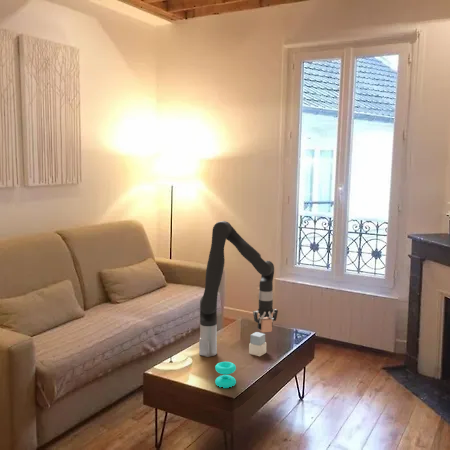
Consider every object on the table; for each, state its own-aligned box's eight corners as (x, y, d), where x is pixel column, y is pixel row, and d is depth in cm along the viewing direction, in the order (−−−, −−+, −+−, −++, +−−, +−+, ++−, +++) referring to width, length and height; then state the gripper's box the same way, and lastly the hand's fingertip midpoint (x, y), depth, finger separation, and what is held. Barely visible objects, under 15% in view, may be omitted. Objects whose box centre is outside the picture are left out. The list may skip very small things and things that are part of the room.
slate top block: (259, 345, 270) (259, 337, 270) (250, 343, 274) (250, 334, 273) (265, 342, 275) (265, 333, 275) (256, 340, 279) (256, 331, 278)
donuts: (219, 359, 241) (238, 362, 238) (219, 378, 242) (238, 382, 239) (211, 367, 232) (231, 370, 228) (211, 387, 233) (231, 390, 230)
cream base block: (259, 356, 271) (259, 346, 270) (249, 353, 275) (249, 343, 274) (266, 352, 276) (266, 342, 275) (255, 349, 280) (255, 339, 279)
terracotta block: (262, 332, 261) (262, 320, 260) (258, 329, 266) (258, 317, 265) (271, 331, 263) (272, 319, 262) (267, 328, 268) (267, 316, 267)
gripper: (256, 301, 256) (255, 332, 258) (280, 299, 261) (280, 329, 263) (250, 297, 263) (250, 328, 265) (274, 295, 268) (274, 325, 270)
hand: (265, 328), depth 264 cm, fingers closed on terracotta block, 5 cm apart
